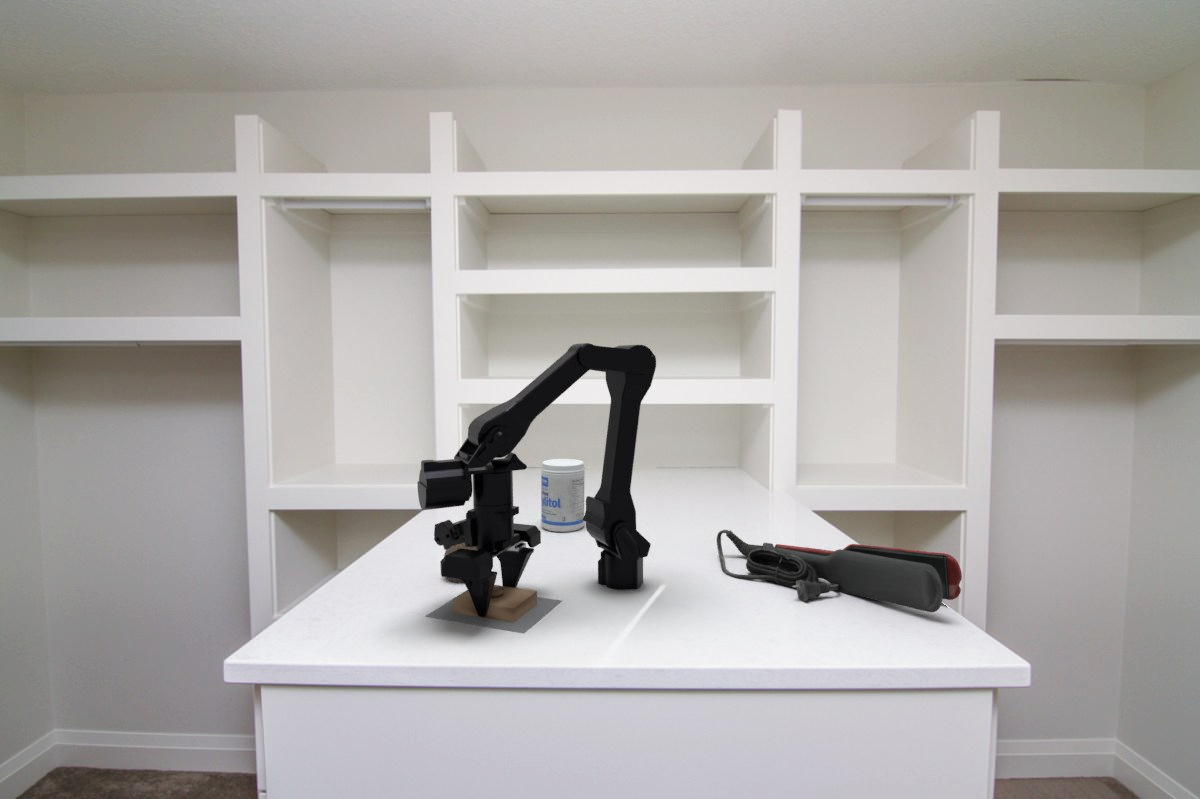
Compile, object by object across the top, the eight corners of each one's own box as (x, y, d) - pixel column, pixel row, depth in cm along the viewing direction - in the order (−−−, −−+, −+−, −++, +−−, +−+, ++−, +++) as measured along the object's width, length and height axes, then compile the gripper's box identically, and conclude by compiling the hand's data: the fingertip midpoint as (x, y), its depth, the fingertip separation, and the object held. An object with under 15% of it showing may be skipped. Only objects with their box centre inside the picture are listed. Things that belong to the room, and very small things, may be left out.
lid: (537, 604, 94) (536, 585, 94) (513, 622, 88) (513, 602, 87) (479, 595, 98) (479, 577, 98) (453, 612, 91) (452, 593, 91)
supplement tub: (533, 529, 138) (532, 463, 137) (555, 519, 147) (555, 457, 146) (571, 535, 134) (570, 466, 133) (592, 524, 142) (591, 460, 141)
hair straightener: (735, 550, 123) (735, 509, 123) (963, 609, 94) (965, 555, 93) (685, 569, 112) (685, 524, 112) (925, 642, 83) (926, 581, 83)
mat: (562, 607, 95) (562, 600, 95) (524, 640, 84) (524, 633, 84) (472, 593, 101) (471, 587, 101) (425, 622, 90) (424, 616, 90)
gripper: (480, 485, 103) (482, 579, 104) (406, 512, 86) (409, 623, 87) (541, 490, 99) (543, 587, 100) (476, 519, 82) (478, 636, 83)
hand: (495, 606), depth 93 cm, fingers closed on lid, 7 cm apart
